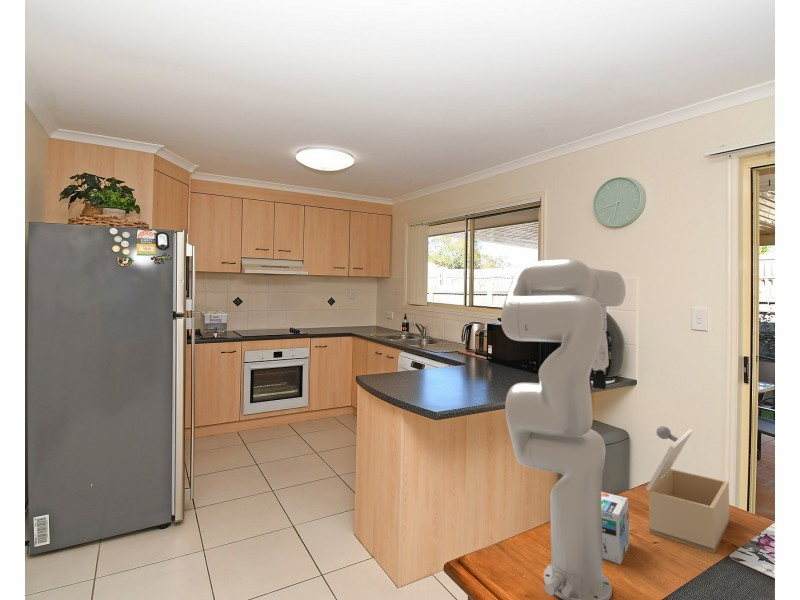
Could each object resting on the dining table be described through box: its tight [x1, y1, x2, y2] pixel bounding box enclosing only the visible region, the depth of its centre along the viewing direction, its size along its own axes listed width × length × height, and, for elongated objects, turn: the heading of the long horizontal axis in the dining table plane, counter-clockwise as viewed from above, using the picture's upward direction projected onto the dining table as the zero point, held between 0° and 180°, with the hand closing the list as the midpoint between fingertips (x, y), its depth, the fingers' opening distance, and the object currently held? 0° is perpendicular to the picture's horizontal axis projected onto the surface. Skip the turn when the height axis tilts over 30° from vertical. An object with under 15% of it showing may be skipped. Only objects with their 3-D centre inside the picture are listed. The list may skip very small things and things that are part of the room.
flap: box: [645, 425, 694, 492], centre depth 114 cm, size 20×13×6 cm
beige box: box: [648, 468, 730, 554], centre depth 109 cm, size 20×13×10 cm, turn 135°
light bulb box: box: [601, 491, 630, 565], centre depth 100 cm, size 11×7×11 cm, turn 143°
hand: (592, 391), depth 114 cm, fingers open, 9 cm apart
